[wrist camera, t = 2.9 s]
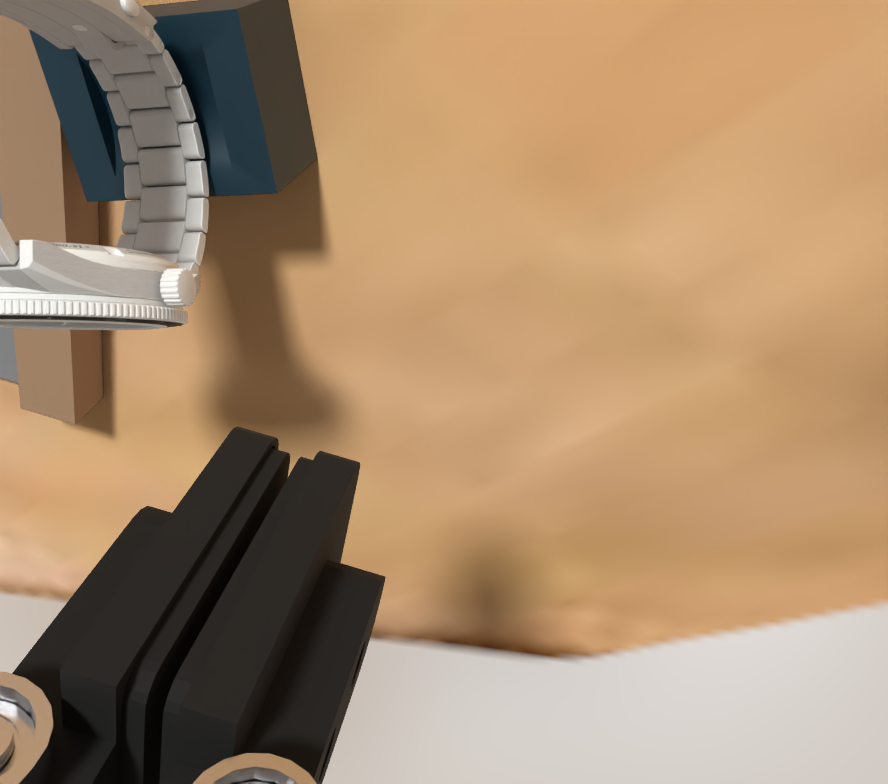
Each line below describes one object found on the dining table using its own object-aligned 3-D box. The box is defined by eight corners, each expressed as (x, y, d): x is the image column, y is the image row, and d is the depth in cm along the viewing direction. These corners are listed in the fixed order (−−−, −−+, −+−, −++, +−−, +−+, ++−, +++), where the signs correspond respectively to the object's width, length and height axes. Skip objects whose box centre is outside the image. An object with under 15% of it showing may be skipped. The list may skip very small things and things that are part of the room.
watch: (163, 229, 26) (-96, 425, 17) (77, -63, 22) (-327, -10, 13) (332, 223, 25) (151, 432, 16) (274, -88, 21) (-17, -49, 12)
